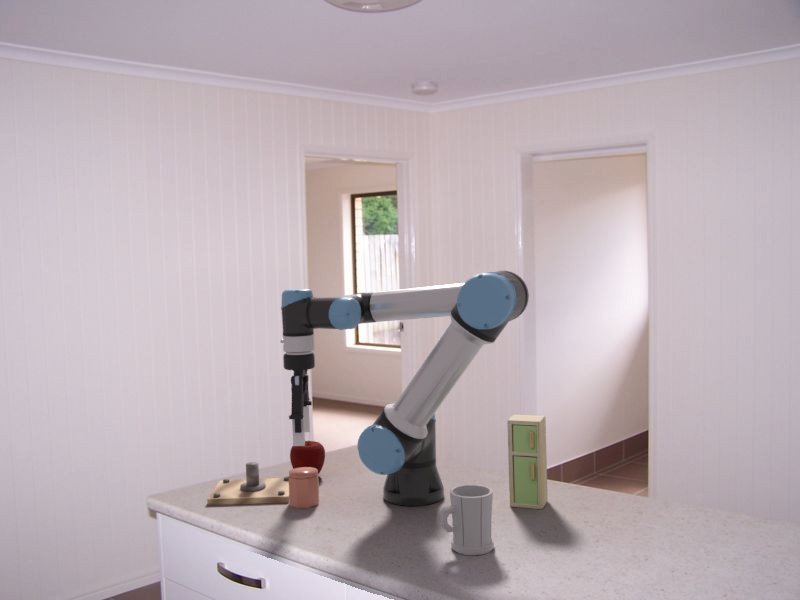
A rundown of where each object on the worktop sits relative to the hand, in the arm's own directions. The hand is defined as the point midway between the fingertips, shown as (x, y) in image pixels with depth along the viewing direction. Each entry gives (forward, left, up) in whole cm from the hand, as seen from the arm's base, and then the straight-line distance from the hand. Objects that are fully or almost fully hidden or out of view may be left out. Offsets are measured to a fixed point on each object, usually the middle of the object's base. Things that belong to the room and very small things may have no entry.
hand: (301, 438), depth 191 cm
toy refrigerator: (-54, +7, -16) cm, 57 cm away
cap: (0, 0, -16) cm, 16 cm away
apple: (+1, -22, -16) cm, 27 cm away
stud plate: (+14, -9, -16) cm, 23 cm away
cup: (-37, +33, -16) cm, 52 cm away
